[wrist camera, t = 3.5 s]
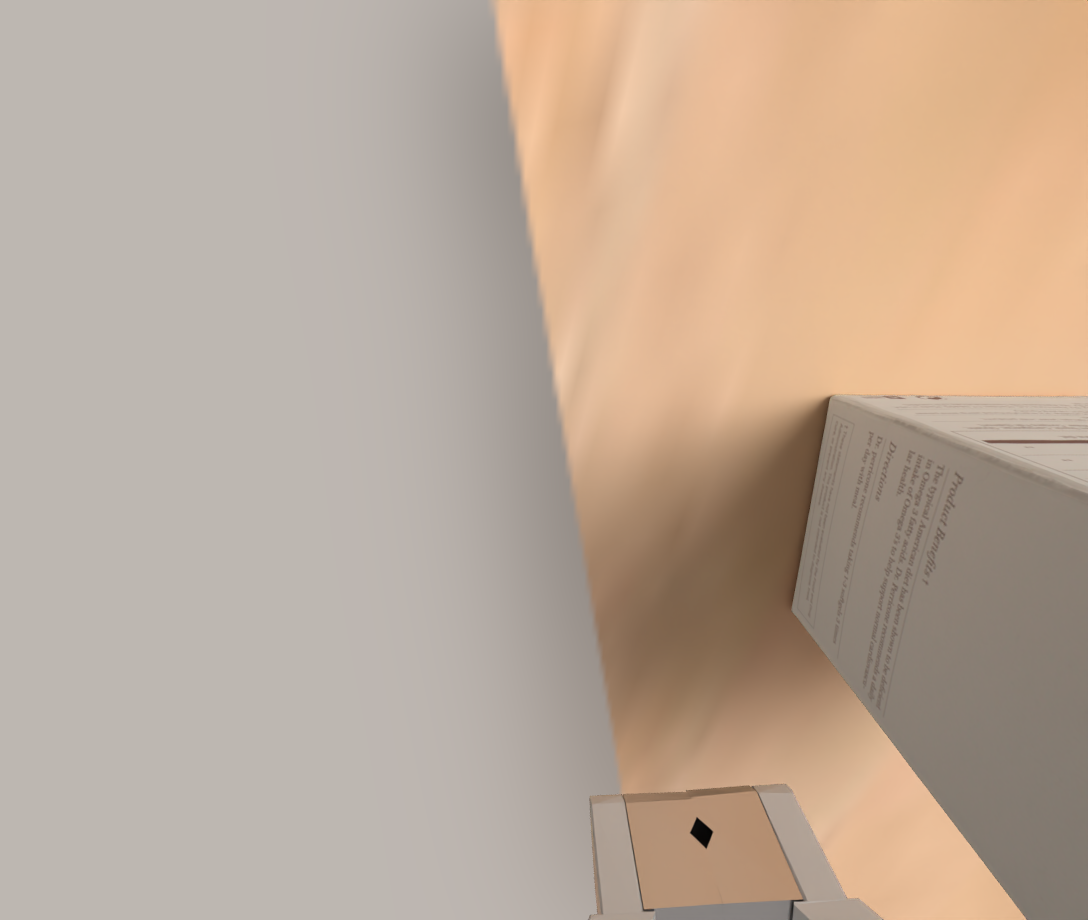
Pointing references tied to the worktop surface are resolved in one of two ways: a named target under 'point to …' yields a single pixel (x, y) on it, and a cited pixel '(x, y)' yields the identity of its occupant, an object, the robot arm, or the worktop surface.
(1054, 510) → the supplement box
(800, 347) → the worktop surface
